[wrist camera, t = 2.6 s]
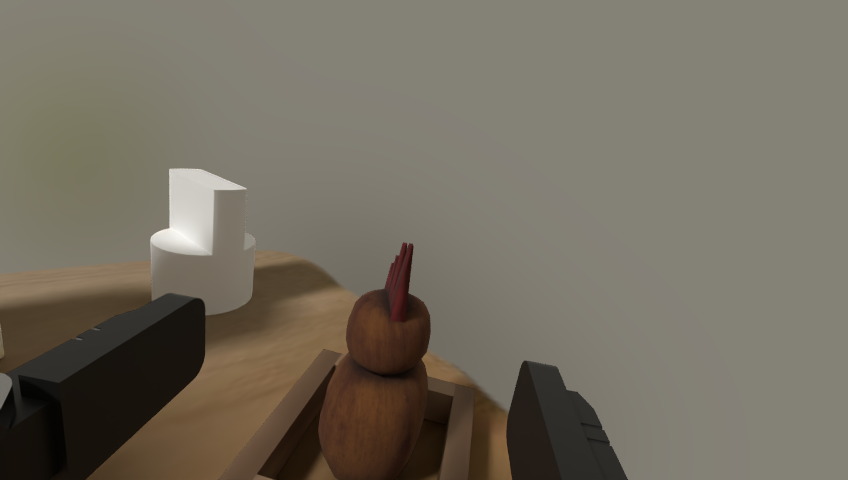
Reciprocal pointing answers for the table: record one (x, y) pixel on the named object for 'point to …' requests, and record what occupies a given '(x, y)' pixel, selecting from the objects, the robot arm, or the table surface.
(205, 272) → the base with upright slab
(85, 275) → the table surface
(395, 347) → the wooden figurine
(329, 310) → the table surface
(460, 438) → the square wooden frame
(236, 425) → the table surface
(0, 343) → the coffeecake box
